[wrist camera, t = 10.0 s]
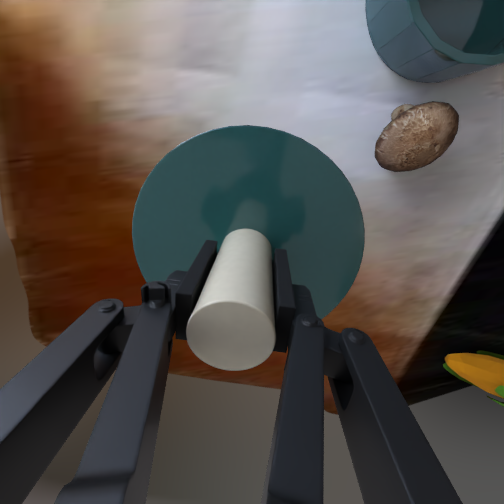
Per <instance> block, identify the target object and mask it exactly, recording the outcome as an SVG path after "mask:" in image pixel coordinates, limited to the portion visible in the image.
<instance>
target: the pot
mask: <svg viewBox="0 0 504 504" xmlns="http://www.w3.org/2000/svg"><path fill="white" fill-rule="evenodd" d="M366 19H367V26H368V30H369V34H370V37H371V40H372V43H373V46H374V47H375V49H376V51H377V53H378V55H379V56H380V58H381V59H382V60H383V62H384V63H385V64H386V65H387V66H388V67H389V68H390V69H391V70H392V71H394V72H395V73H397V74H398V75H400V76H402V77H404V78H406V79H409V80H413V81H416V82H425V83H431V82H436V83H438V82H442V81H446V80H450V79H453V78H457V77H461V76H464V75H468V74H471V73H474V72H478V71H481V70H484V69H487V68H491V67H494V66H497V65H501V64H504V0H366Z"/></svg>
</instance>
